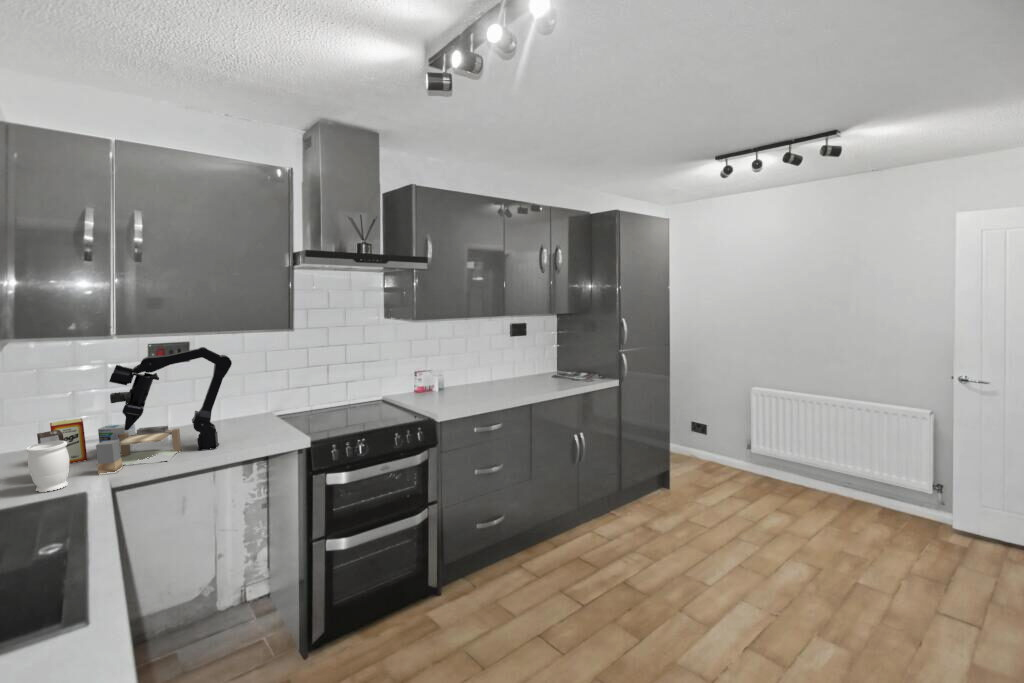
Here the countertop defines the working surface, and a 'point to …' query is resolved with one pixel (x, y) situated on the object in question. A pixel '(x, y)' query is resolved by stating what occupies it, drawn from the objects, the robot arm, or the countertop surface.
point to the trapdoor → (147, 435)
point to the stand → (133, 457)
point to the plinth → (109, 466)
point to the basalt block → (108, 451)
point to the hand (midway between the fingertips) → (126, 427)
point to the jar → (48, 465)
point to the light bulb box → (116, 433)
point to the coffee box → (50, 436)
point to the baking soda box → (72, 438)
